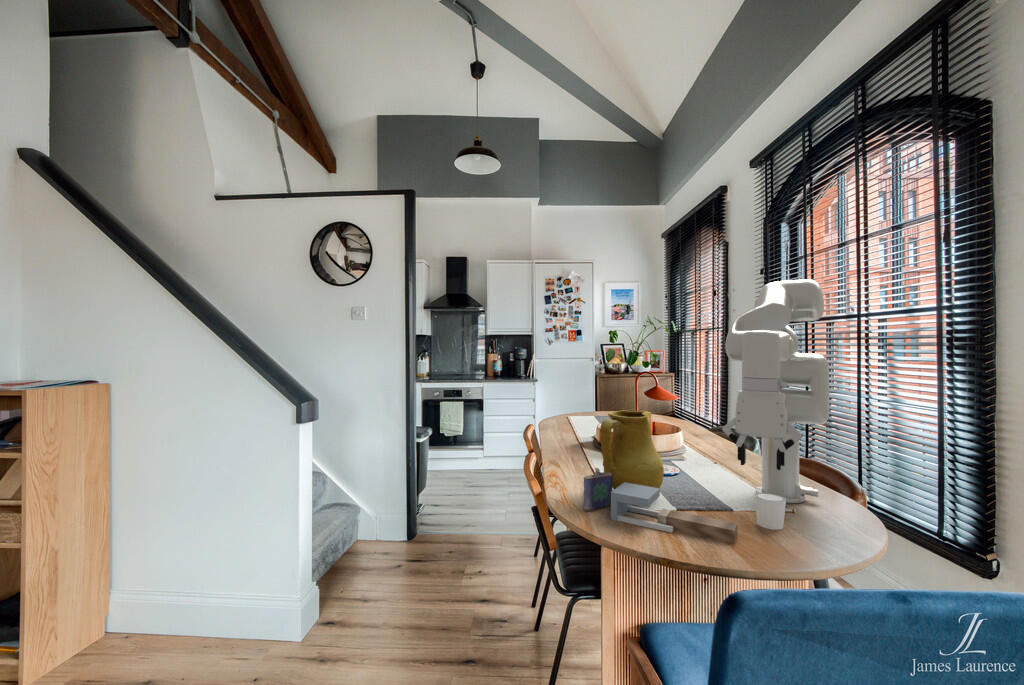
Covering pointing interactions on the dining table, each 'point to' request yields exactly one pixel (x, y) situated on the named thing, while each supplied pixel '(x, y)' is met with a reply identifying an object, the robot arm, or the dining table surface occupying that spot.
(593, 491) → the flask
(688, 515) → the walnut slat
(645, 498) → the grey block with rails
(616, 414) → the pitcher
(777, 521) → the white short cylinder
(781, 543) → the dining table surface
